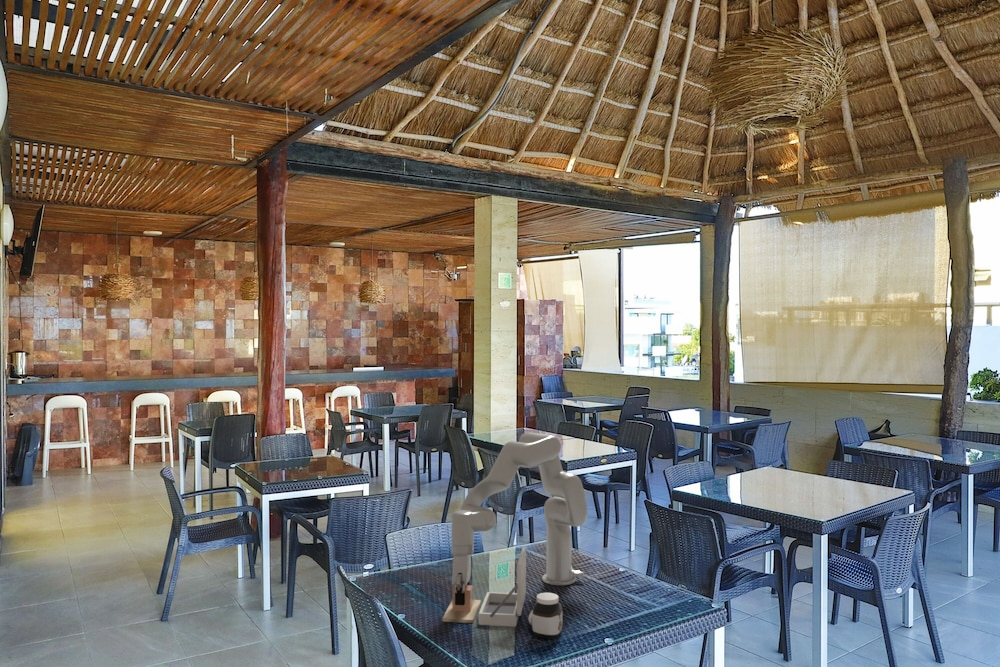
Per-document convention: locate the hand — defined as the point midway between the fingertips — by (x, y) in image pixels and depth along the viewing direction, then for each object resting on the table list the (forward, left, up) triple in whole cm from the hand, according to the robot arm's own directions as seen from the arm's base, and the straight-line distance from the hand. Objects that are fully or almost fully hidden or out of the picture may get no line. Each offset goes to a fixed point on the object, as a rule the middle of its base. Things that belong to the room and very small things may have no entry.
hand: (462, 599), depth 236 cm
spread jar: (-28, +13, -4) cm, 31 cm away
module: (0, 0, -3) cm, 3 cm away
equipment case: (-13, 0, -4) cm, 14 cm away
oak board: (0, 0, -4) cm, 4 cm away
